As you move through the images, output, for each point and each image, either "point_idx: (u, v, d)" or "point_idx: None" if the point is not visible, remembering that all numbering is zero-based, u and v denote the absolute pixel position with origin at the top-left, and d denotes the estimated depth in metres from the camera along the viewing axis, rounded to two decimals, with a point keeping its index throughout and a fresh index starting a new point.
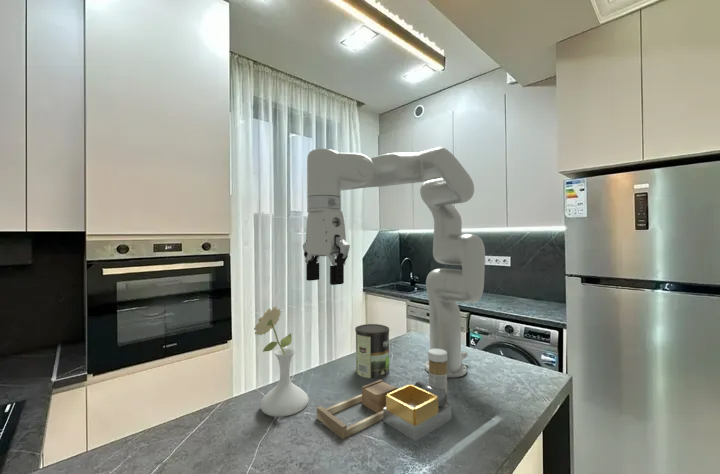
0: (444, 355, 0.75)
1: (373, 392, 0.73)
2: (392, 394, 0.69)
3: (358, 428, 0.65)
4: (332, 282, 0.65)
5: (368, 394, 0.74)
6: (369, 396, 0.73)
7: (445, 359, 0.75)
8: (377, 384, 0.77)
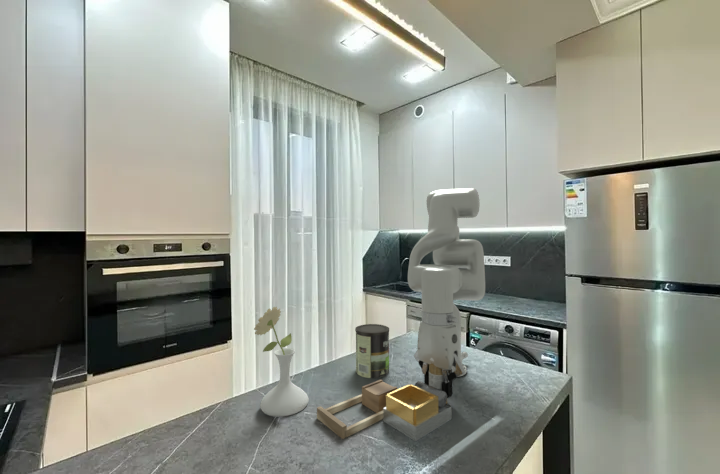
0: None
1: (373, 392, 0.73)
2: (392, 394, 0.69)
3: (358, 428, 0.65)
4: None
5: (368, 394, 0.74)
6: (369, 396, 0.73)
7: None
8: (377, 384, 0.77)
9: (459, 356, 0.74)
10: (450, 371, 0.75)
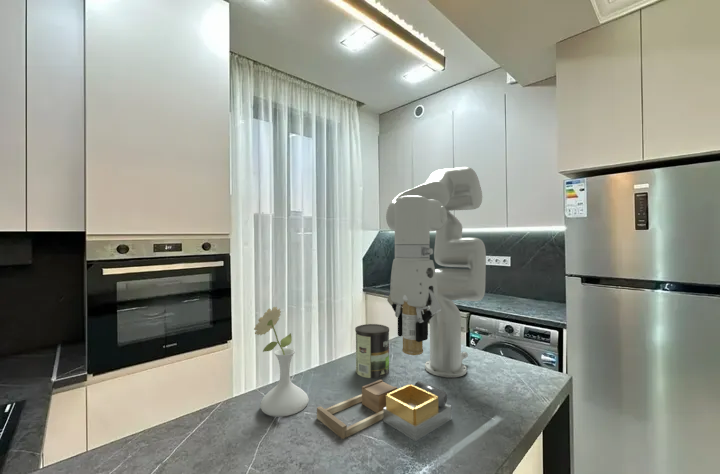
0: None
1: (373, 392, 0.73)
2: (392, 394, 0.69)
3: (358, 428, 0.65)
4: (418, 339, 0.65)
5: (368, 394, 0.74)
6: (369, 396, 0.73)
7: None
8: (377, 384, 0.77)
9: (435, 293, 0.65)
10: (425, 311, 0.66)
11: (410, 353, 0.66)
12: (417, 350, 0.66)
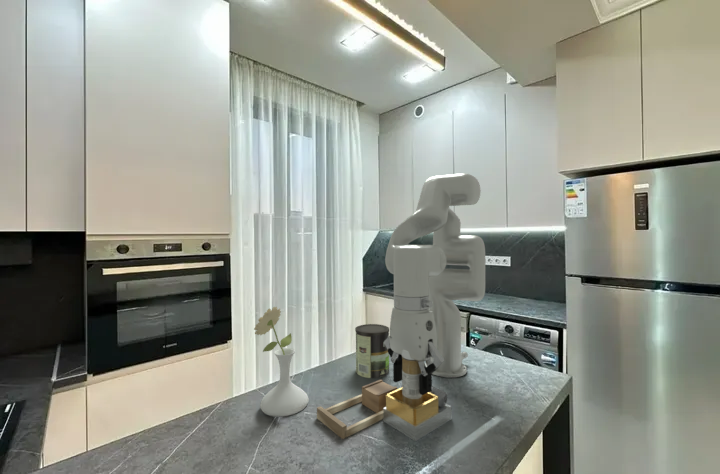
0: None
1: (373, 392, 0.73)
2: (392, 394, 0.69)
3: (358, 428, 0.65)
4: (422, 392, 0.64)
5: (368, 394, 0.74)
6: (369, 396, 0.73)
7: None
8: (377, 384, 0.77)
9: (435, 345, 0.65)
10: (428, 362, 0.65)
11: None
12: None
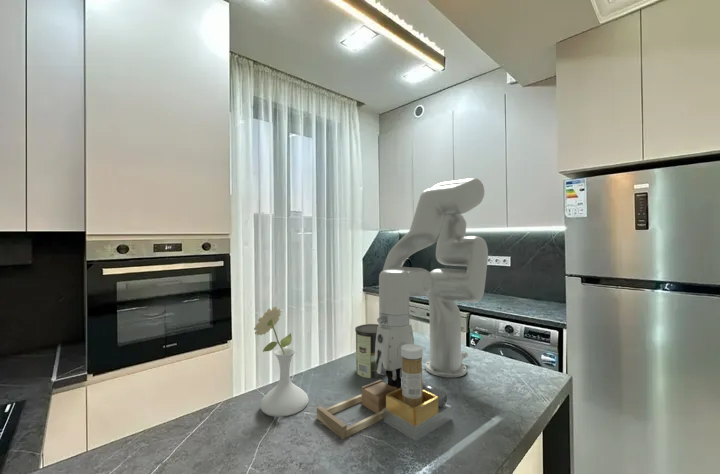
0: (419, 352, 0.66)
1: (373, 392, 0.73)
2: (392, 394, 0.69)
3: (358, 428, 0.65)
4: None
5: (367, 394, 0.74)
6: (369, 396, 0.73)
7: (419, 356, 0.66)
8: (377, 384, 0.77)
9: (383, 359, 0.74)
10: None
11: None
12: None
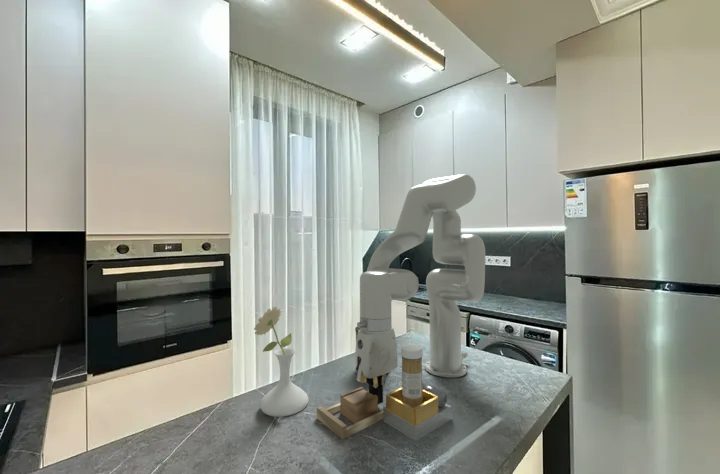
0: (418, 352, 0.66)
1: (352, 401, 0.69)
2: (392, 394, 0.69)
3: (358, 428, 0.65)
4: None
5: (346, 403, 0.70)
6: (348, 405, 0.69)
7: (419, 356, 0.66)
8: (357, 392, 0.73)
9: (363, 365, 0.70)
10: None
11: None
12: None
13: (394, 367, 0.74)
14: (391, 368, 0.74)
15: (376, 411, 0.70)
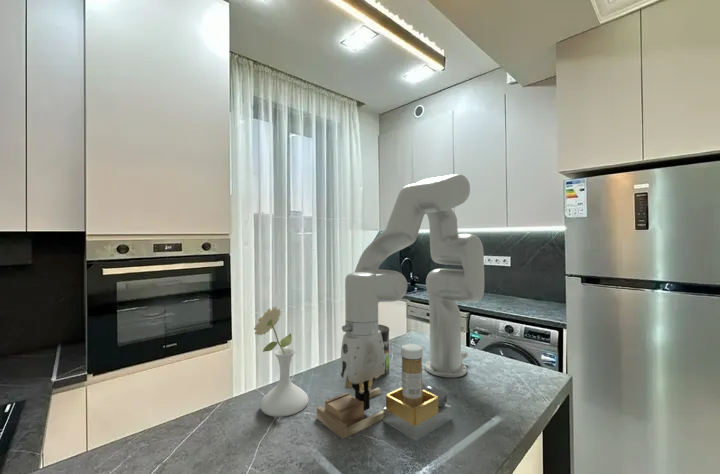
0: (419, 352, 0.66)
1: (336, 408, 0.66)
2: (392, 394, 0.69)
3: (358, 428, 0.65)
4: None
5: (331, 409, 0.67)
6: (332, 411, 0.66)
7: (419, 356, 0.66)
8: (343, 398, 0.70)
9: (348, 371, 0.67)
10: None
11: None
12: None
13: (381, 372, 0.72)
14: (378, 373, 0.71)
15: (362, 418, 0.68)
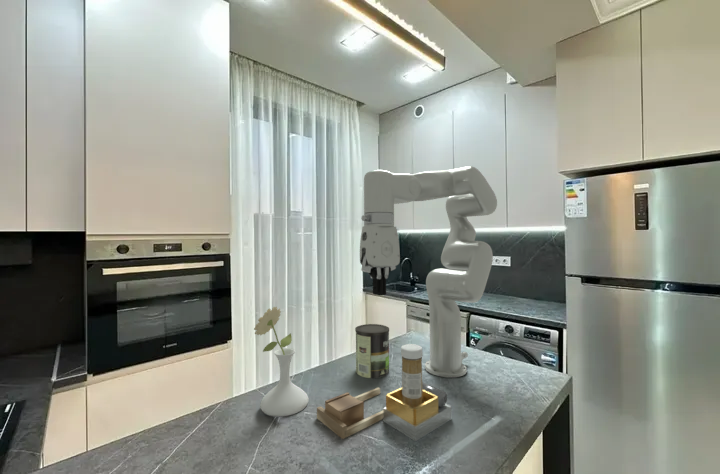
0: (418, 352, 0.66)
1: (336, 408, 0.66)
2: (392, 394, 0.69)
3: (358, 428, 0.65)
4: (373, 292, 0.79)
5: (331, 409, 0.67)
6: (332, 411, 0.66)
7: (419, 356, 0.66)
8: (343, 398, 0.70)
9: (367, 254, 0.74)
10: None
11: None
12: None
13: (396, 262, 0.78)
14: (394, 262, 0.78)
15: (362, 418, 0.68)
